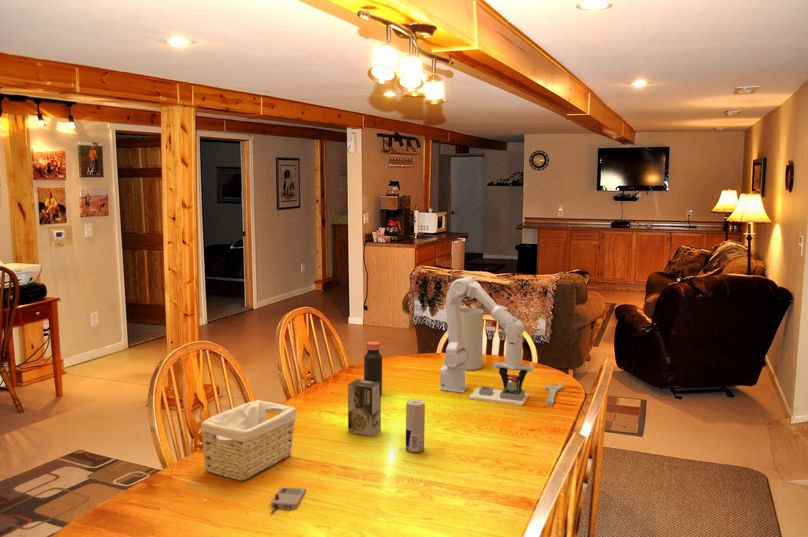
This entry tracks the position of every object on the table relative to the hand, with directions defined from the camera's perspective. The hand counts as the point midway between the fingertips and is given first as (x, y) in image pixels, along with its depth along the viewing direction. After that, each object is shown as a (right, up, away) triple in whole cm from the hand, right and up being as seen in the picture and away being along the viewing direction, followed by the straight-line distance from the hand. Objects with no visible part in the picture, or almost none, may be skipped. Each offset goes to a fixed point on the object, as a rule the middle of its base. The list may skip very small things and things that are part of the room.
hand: (512, 388), depth 256 cm
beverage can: (-37, -10, -48) cm, 62 cm away
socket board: (-5, -4, +2) cm, 6 cm away
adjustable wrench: (+15, -4, +6) cm, 17 cm away
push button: (0, -2, 0) cm, 2 cm away
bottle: (-52, -3, +3) cm, 52 cm away
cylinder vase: (-13, +2, +44) cm, 46 cm away
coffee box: (-53, -8, -34) cm, 64 cm away
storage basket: (-84, -11, -60) cm, 104 cm away
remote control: (-70, -14, -82) cm, 109 cm away
